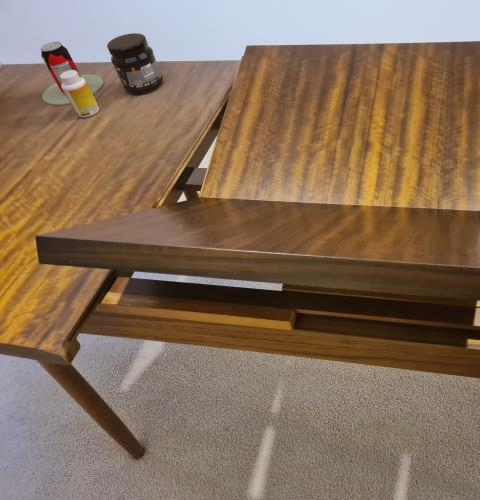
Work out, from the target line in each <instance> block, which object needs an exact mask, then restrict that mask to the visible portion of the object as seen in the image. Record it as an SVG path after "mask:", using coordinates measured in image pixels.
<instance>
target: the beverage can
mask: <svg viewBox="0 0 480 500" xmlns="http://www.w3.org/2000/svg"><path fill="white" fill-rule="evenodd" d="M39 51H41V52H40V53H41V54H40V55H41V59H42V61H43V62H44V64H45V66H46V68H47V70H48V71H49V73H50V74H51V77H52V78H53V80H54V81H55V82H54V83H57V85H58V87H59V89H60V90H61V92H63V93H64V91H63V89H62V87H61V85H62V83H63V82H62V80H61V78H60V75H61V74H62V73H63V72H66V71H69V70H75V71H77V73H78V75H79V77H81V75H82V74H81V73H80V71H79V69H78V67H77V66H76V63H75V62H74V59H73V58H72V56H71V54H70V52H69V50H68V48H67V47H65V46H64V45H63V44H62V42H60V41H51V42H48V43H44V44H43V45H41V47H39Z"/></svg>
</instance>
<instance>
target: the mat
mask: <svg viewBox="0 0 480 500" xmlns="http://www.w3.org/2000/svg"><path fill="white" fill-rule="evenodd" d="M80 75H81V77H82V78H84V79H85V81H86V83H87V85H88V87H89V89H90V90H91V92H92V94H93V96H94V95H96V94H97V93H98V92H99V91H100V90H102V88H103V86H104V83H105V82H104V80H103V78H102V77H101V76H99V75H96V74H89V73H88V74H80ZM41 97H42V101H43V102H44V103H45V104H48V105H51V106H66V105H71V103H70V102H69V100H68V98H67V96H66V95H65V93H63V92H61V90H60V89H59V87H58V85H57V83H56V82H54V83H53V84H51V85H50V86H49V87H48V88H46V89H45V90H44V91H43V92H42V96H41Z"/></svg>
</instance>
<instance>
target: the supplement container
mask: <svg viewBox="0 0 480 500" xmlns="http://www.w3.org/2000/svg"><path fill="white" fill-rule="evenodd" d="M106 48H107V50H108V52H109V54H110V55H111V57H110V62H111V64H112V65H113V68H114V69H115V72H116V74H117V76H118V78H119V81H120V82H121V85H122V87H123V89H124V91H125V92H126V93H128V94H130V95H144V94H150V93H151V92H154V91H155V90H158V89H159V88H160V87H161V85H163V82H164V76H163V74H162V72H161V70H160V66H159V64H158V61H157V60H156V56H155V54H154V50H153V48H152V47H151V46H149V42H148V40H147V37H146V35H144V34H143V33H135V32H132V33H126V34H122V35H119V36H116V37H114V38H112V39H111V40H110V41H108V42H107V45H106Z"/></svg>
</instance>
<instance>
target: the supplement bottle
mask: <svg viewBox="0 0 480 500" xmlns="http://www.w3.org/2000/svg"><path fill="white" fill-rule="evenodd" d="M60 78H61V80H62V82H63V83H62V85H61V87H62V89H63V91H64V93H65V95H66V96H67V98H68V100H69V102H70V103H71V104H70V105H71V107H72V109H73V110H74V112H75V114H76V116H77V117H79V118H83V119H84V118H90V117H93V116H95V115H96V114H97V113H99V111H100V106H99V104H98V102H97V100H96V98H95V96H94V95H93V94H92V92H91V90H90V89H89V87H88V85H87V83H86V81H85V79H84V78H82V77H79V75H78V73H77V71H75V70H69V71H66V72H63V73H62V74H61V75H60Z"/></svg>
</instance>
